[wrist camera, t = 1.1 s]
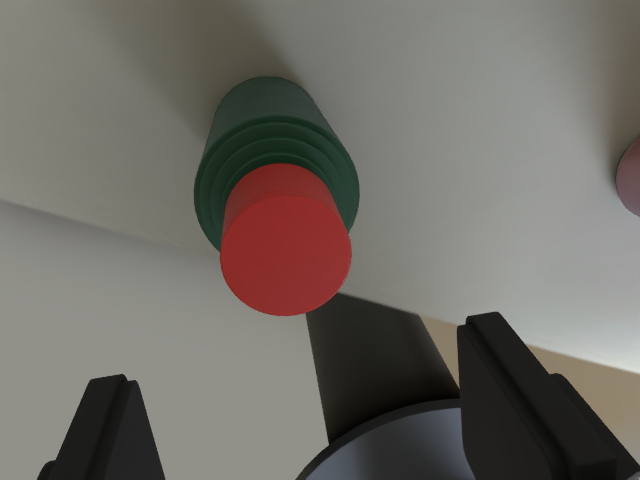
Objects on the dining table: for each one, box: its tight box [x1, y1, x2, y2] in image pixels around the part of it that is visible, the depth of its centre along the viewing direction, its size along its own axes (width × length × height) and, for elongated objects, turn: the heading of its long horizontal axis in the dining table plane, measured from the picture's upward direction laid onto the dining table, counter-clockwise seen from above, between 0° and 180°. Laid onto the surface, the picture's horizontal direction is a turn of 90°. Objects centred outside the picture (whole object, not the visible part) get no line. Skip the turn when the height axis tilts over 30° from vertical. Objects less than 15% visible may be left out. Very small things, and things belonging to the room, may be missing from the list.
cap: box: [220, 163, 352, 316], centre depth 20 cm, size 4×4×4 cm
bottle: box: [194, 76, 360, 252], centre depth 27 cm, size 6×6×18 cm
